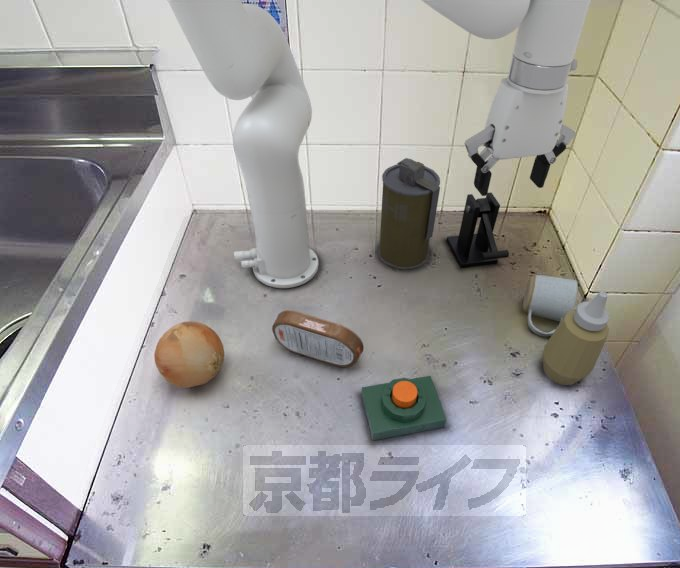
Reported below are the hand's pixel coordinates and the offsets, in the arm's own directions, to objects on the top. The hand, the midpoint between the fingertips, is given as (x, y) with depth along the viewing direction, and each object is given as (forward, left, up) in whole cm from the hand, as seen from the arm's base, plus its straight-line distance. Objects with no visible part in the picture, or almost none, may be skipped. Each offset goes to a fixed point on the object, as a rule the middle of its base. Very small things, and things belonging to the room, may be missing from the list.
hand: (508, 187), depth 74 cm
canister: (-12, +13, -23) cm, 29 cm away
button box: (-22, -23, -23) cm, 39 cm away
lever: (+2, +7, -15) cm, 17 cm away
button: (-22, -23, -19) cm, 37 cm away
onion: (-52, -10, -23) cm, 57 cm away
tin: (-33, -10, -23) cm, 41 cm away
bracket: (+2, +11, -23) cm, 25 cm away
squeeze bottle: (+6, -21, -23) cm, 32 cm away
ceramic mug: (+9, -9, -23) cm, 26 cm away
